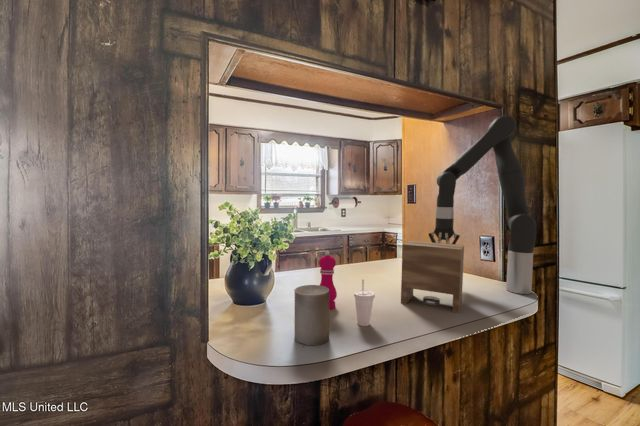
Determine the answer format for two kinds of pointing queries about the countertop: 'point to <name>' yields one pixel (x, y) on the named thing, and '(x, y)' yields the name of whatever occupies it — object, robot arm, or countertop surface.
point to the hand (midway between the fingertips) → (443, 255)
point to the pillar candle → (311, 314)
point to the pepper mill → (328, 276)
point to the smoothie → (363, 305)
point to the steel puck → (431, 300)
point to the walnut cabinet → (432, 270)
